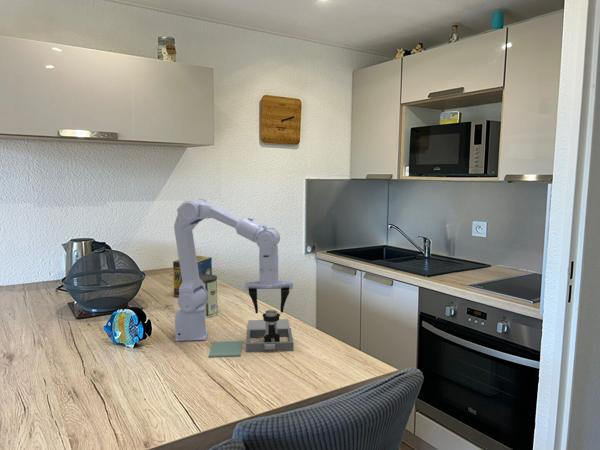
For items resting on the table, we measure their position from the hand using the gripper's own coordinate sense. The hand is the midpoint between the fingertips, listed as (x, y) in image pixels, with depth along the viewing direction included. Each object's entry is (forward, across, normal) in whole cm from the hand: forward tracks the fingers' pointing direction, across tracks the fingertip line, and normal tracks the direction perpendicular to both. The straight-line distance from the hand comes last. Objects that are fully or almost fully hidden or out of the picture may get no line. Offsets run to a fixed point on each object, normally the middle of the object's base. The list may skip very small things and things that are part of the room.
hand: (269, 312), depth 140 cm
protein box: (+10, -32, +62) cm, 71 cm away
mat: (+10, -13, -4) cm, 17 cm away
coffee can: (+10, -24, +32) cm, 41 cm away
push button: (+10, 0, 0) cm, 10 cm away
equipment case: (+10, 0, +6) cm, 12 cm away
